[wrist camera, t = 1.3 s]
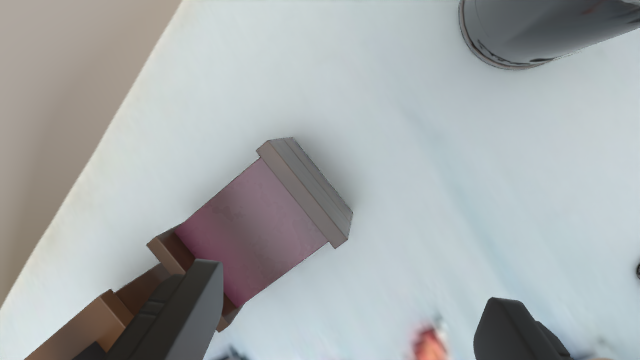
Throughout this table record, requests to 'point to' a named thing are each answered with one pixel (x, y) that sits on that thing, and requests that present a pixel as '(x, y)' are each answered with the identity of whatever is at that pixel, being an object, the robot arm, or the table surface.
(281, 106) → the table surface
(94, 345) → the slim remote
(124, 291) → the walnut shelf
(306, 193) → the cushioned bench
